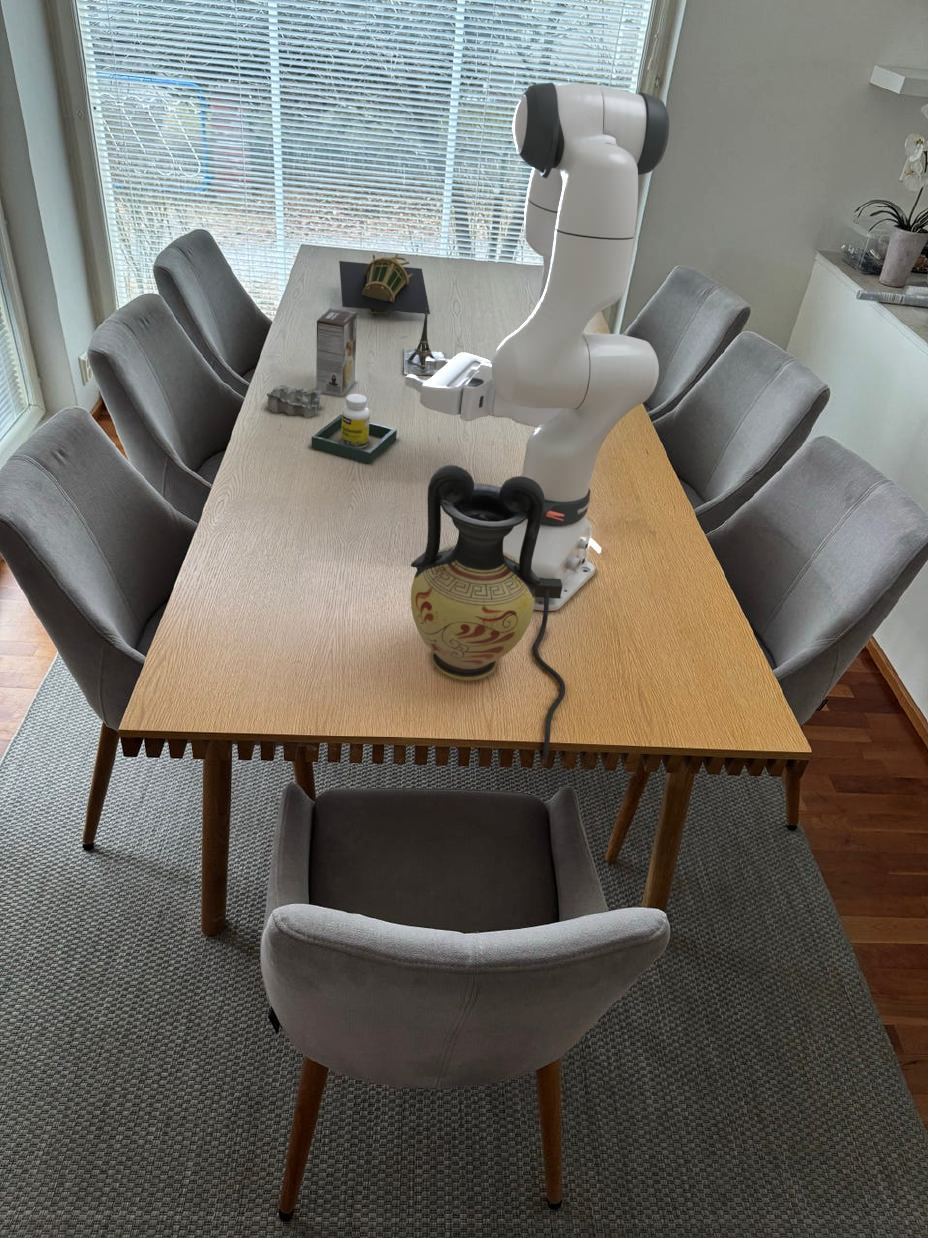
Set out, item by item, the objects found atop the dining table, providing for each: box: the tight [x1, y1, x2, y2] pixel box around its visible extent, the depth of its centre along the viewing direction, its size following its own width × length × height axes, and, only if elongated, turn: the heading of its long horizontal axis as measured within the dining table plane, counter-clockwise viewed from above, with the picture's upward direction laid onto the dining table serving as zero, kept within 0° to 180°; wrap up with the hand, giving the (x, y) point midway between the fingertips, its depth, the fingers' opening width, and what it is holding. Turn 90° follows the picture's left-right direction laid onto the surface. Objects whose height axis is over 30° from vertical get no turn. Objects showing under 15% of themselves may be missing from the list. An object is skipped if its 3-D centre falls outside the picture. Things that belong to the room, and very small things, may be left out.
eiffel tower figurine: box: [403, 310, 445, 376], centre depth 222 cm, size 15×10×13 cm
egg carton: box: [266, 384, 322, 418], centre depth 196 cm, size 11×8×4 cm
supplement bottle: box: [340, 393, 371, 449], centre depth 184 cm, size 5×5×10 cm
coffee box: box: [315, 308, 358, 397], centre depth 204 cm, size 9×6×16 cm
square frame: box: [311, 413, 398, 465], centre depth 186 cm, size 13×13×2 cm
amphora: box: [410, 464, 545, 682], centre depth 126 cm, size 18×17×30 cm
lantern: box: [338, 253, 431, 315], centre depth 255 cm, size 14×23×30 cm
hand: (416, 371), depth 174 cm, fingers open, 8 cm apart
